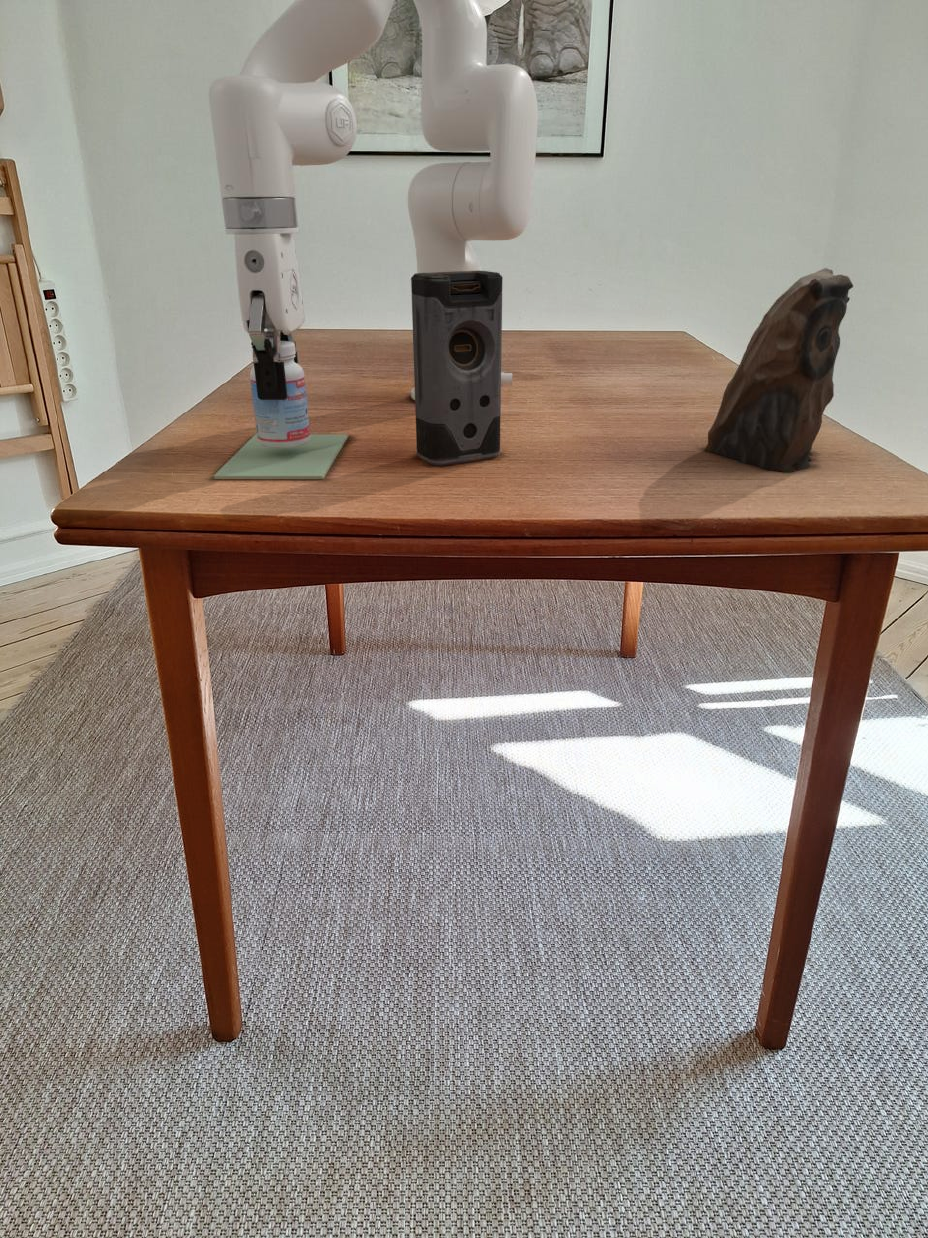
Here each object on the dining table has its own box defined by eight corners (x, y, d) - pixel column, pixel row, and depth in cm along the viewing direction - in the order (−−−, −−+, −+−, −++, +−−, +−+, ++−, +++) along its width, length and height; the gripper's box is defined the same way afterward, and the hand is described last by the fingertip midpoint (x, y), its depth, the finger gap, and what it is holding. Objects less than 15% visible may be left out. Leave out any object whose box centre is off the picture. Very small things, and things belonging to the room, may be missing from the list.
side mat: (348, 437, 104) (347, 434, 104) (323, 479, 88) (322, 475, 88) (255, 437, 105) (255, 434, 104) (213, 479, 89) (213, 475, 88)
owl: (789, 439, 102) (820, 266, 92) (861, 467, 91) (903, 273, 82) (700, 448, 98) (723, 269, 89) (763, 478, 88) (796, 277, 78)
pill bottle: (299, 451, 93) (288, 348, 87) (249, 448, 94) (236, 347, 89) (318, 437, 98) (309, 339, 93) (271, 435, 99) (259, 338, 94)
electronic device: (433, 468, 92) (429, 276, 83) (412, 455, 96) (405, 273, 87) (505, 457, 95) (508, 273, 86) (481, 445, 100) (481, 269, 91)
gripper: (277, 219, 77) (296, 409, 85) (312, 216, 93) (325, 378, 101) (199, 219, 77) (226, 409, 86) (247, 217, 93) (265, 378, 101)
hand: (279, 391), depth 93 cm, fingers closed on pill bottle, 6 cm apart
